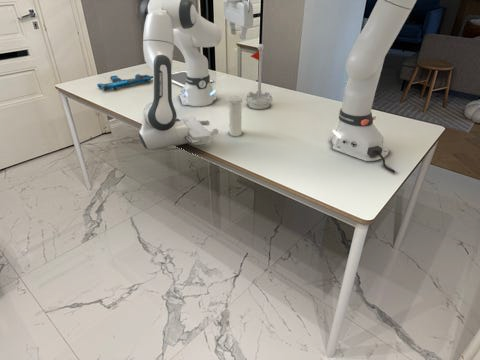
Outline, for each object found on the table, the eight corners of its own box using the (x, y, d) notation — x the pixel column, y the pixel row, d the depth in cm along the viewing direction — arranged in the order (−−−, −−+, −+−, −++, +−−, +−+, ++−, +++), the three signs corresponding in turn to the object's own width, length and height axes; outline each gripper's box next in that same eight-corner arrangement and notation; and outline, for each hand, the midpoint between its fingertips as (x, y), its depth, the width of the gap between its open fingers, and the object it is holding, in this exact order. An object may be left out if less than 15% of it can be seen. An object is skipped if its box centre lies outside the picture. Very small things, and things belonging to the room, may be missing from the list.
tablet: (158, 76, 219) (158, 76, 219) (185, 70, 230) (185, 70, 230) (186, 88, 199) (186, 87, 198) (213, 81, 210) (213, 81, 209)
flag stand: (265, 99, 183) (267, 40, 167) (275, 107, 173) (279, 45, 156) (242, 102, 179) (242, 42, 163) (252, 111, 169) (253, 48, 152)
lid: (240, 99, 143) (240, 95, 142) (243, 103, 138) (244, 100, 137) (226, 100, 142) (226, 96, 141) (230, 105, 137) (230, 101, 136)
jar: (239, 130, 150) (239, 96, 142) (242, 135, 146) (242, 100, 138) (228, 131, 149) (227, 97, 141) (231, 136, 145) (230, 101, 137)
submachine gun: (141, 68, 224) (160, 75, 207) (142, 74, 226) (161, 81, 209) (89, 78, 205) (105, 86, 189) (91, 85, 207) (107, 93, 191)
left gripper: (189, 136, 126) (223, 129, 131) (173, 116, 142) (203, 111, 147) (190, 151, 130) (223, 143, 135) (174, 130, 145) (204, 124, 150)
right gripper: (258, -3, 112) (256, 41, 120) (236, -8, 128) (236, 31, 135) (241, -2, 110) (240, 43, 118) (220, -8, 126) (221, 32, 133)
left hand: (213, 126), depth 141 cm, fingers open, 8 cm apart
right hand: (237, 36), depth 127 cm, fingers open, 8 cm apart
